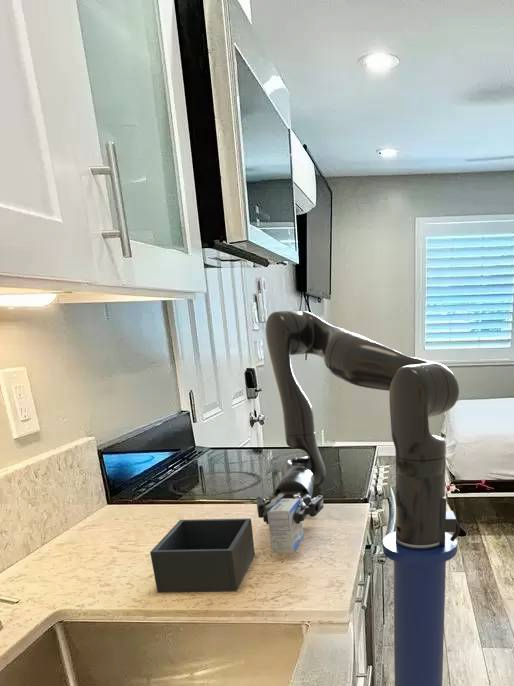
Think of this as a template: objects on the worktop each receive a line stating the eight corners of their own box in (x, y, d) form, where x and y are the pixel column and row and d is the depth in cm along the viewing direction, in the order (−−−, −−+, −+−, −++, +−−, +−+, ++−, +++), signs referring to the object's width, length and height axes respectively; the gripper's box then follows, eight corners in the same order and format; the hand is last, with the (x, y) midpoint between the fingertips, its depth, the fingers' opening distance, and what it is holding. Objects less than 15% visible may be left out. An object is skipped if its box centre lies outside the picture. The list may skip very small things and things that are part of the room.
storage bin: (254, 554, 111) (250, 518, 108) (236, 591, 97) (231, 550, 94) (185, 556, 111) (180, 519, 109) (157, 593, 97) (149, 552, 94)
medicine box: (293, 554, 108) (290, 511, 104) (271, 554, 108) (266, 511, 105) (303, 539, 115) (300, 498, 112) (282, 538, 115) (278, 497, 112)
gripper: (259, 475, 121) (242, 501, 105) (326, 474, 121) (319, 499, 105) (263, 509, 124) (246, 538, 108) (328, 507, 124) (322, 536, 108)
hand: (282, 519), depth 107 cm, fingers closed on medicine box, 5 cm apart
